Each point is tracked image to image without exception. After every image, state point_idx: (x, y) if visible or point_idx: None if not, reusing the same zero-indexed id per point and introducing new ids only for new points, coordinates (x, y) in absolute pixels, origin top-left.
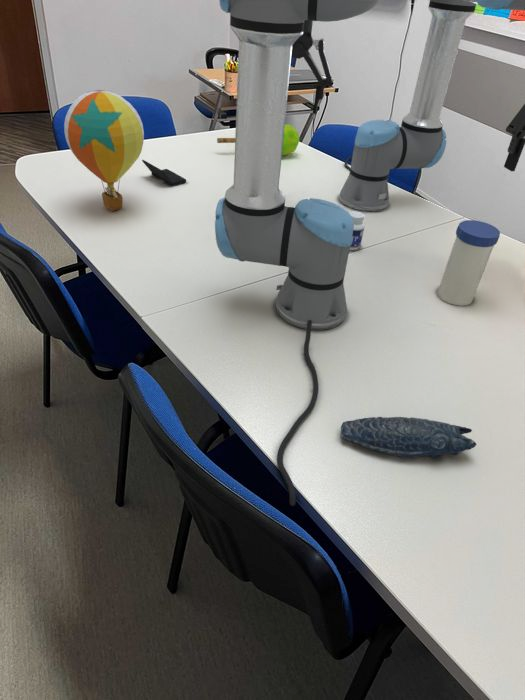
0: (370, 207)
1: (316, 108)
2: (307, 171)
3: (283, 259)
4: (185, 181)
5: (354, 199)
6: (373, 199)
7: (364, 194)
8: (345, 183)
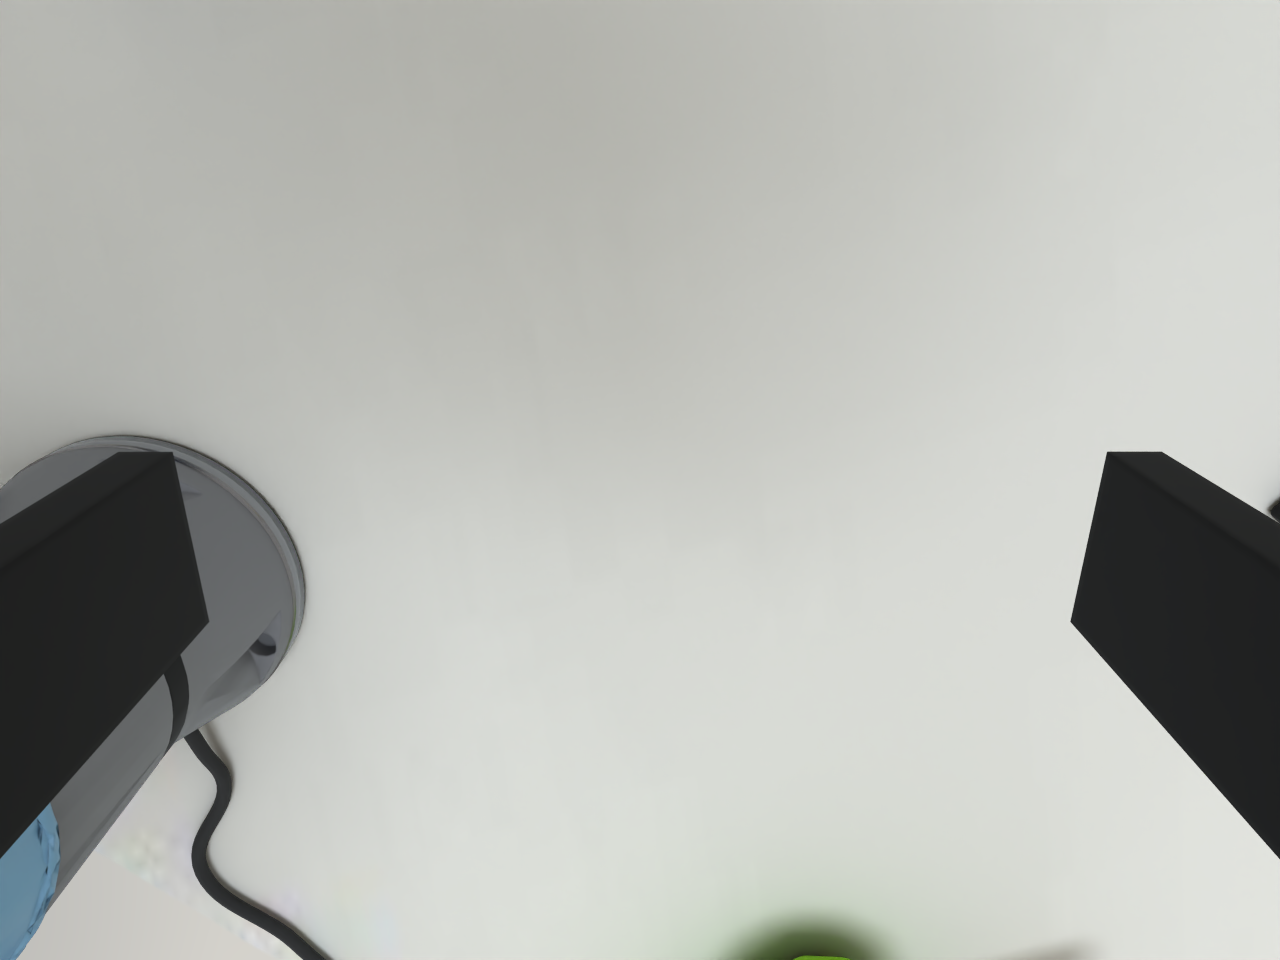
0: (65, 448)
1: (60, 488)
2: (549, 878)
3: None
4: (1277, 509)
5: None
6: (28, 481)
7: None
8: (234, 614)
